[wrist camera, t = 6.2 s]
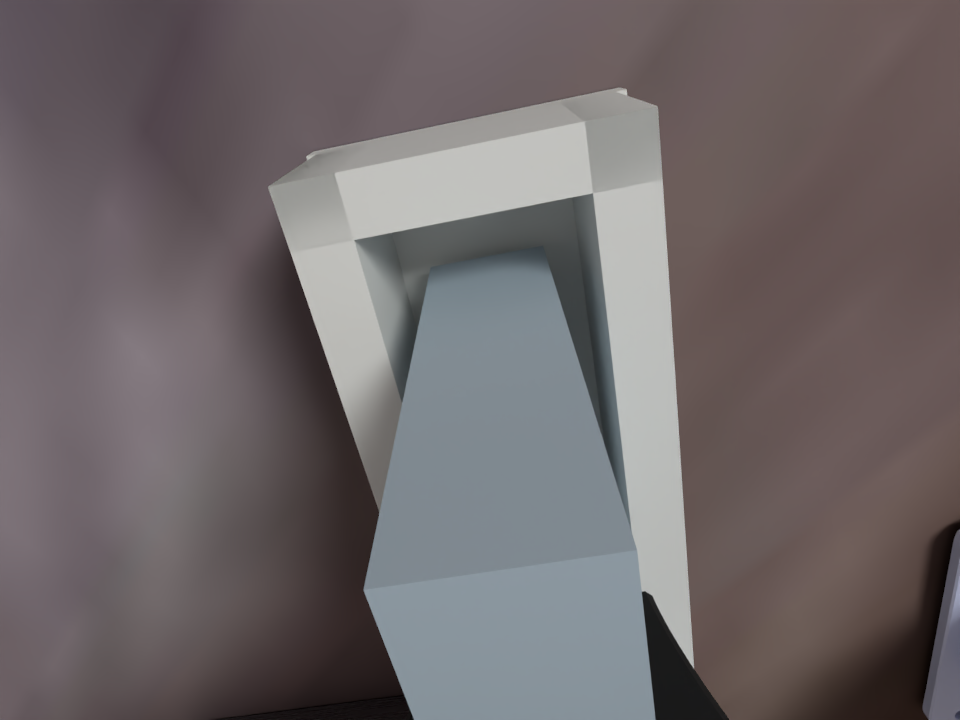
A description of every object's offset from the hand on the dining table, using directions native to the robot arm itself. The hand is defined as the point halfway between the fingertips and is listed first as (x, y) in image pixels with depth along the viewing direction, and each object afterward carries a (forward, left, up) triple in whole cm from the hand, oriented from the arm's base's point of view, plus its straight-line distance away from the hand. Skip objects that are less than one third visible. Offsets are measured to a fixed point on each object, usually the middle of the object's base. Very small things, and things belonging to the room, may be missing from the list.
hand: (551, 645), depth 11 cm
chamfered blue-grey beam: (0, 0, -4) cm, 4 cm away
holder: (0, 0, -6) cm, 6 cm away
